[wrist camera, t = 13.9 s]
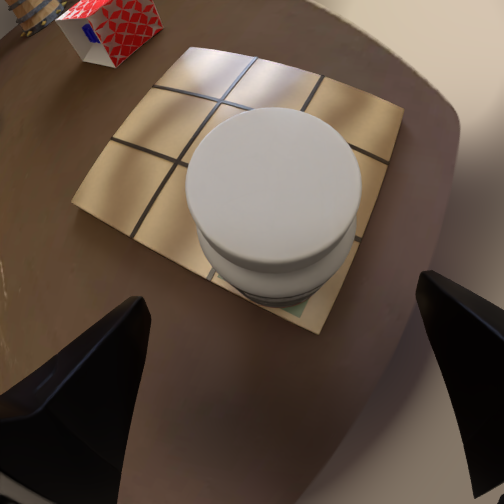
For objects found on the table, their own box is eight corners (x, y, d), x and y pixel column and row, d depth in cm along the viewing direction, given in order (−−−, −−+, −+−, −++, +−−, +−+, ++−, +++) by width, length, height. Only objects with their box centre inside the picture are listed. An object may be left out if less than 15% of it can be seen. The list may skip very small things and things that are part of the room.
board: (400, 118, 20) (405, 108, 19) (316, 334, 17) (319, 335, 16) (193, 55, 24) (190, 45, 23) (78, 207, 21) (69, 201, 20)
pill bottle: (224, 218, 18) (168, 109, 8) (318, 205, 18) (348, 86, 8) (234, 315, 16) (169, 297, 7) (335, 301, 16) (406, 264, 6)
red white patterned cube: (163, 28, 26) (144, -22, 19) (116, 68, 25) (86, 17, 18) (125, 24, 28) (104, -17, 20) (82, 61, 27) (54, 20, 19)
